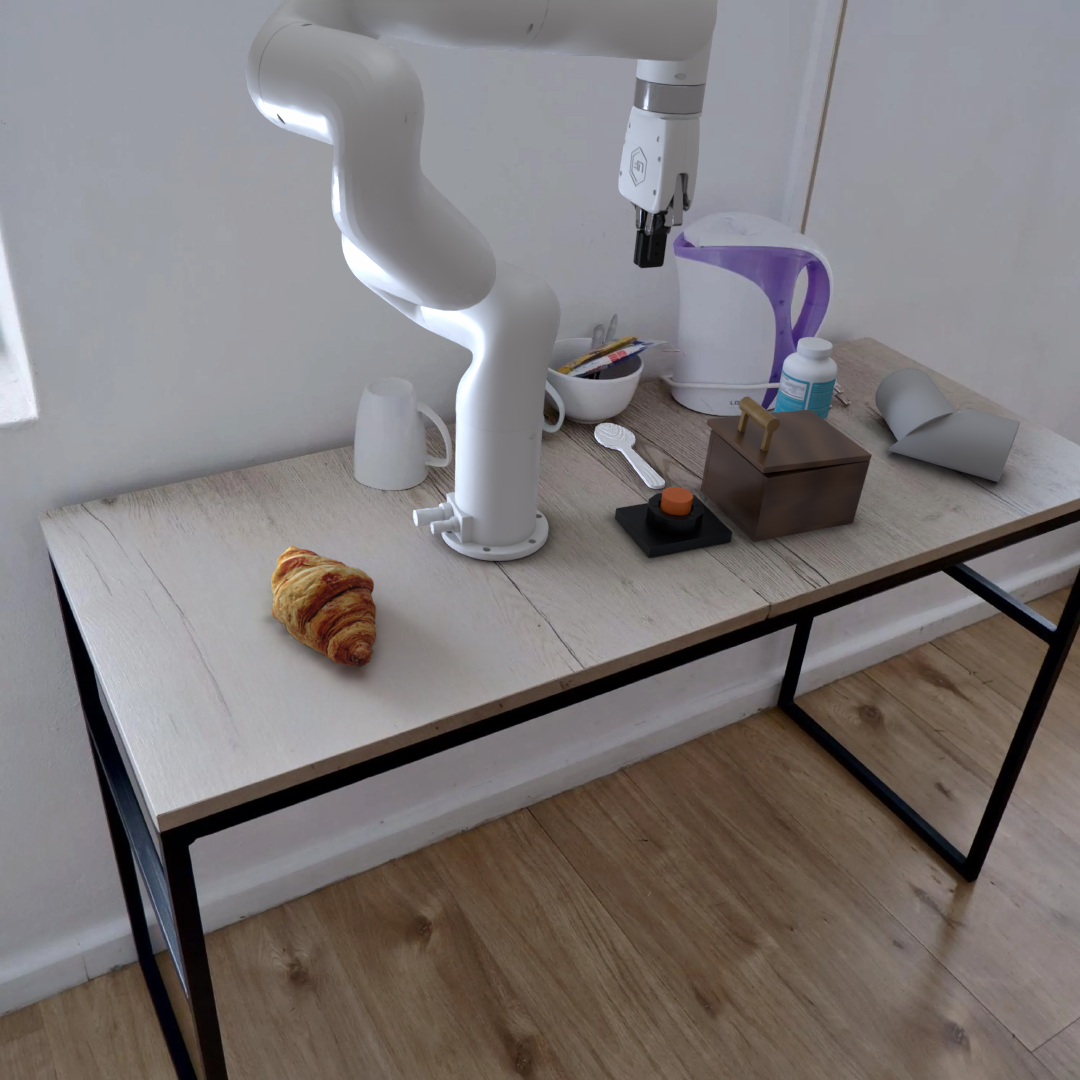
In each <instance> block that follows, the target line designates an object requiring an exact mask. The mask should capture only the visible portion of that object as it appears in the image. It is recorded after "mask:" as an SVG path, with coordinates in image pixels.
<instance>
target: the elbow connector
mask: <svg viewBox="0 0 1080 1080" xmlns="http://www.w3.org/2000/svg"><path fill="white" fill-rule="evenodd" d="M874 395H875V396H874V397H875V398H874V401H875V405H876V408H877V410H878V411H879V413H880V414H881V416H882V417H883V419H884V421H885V422H886V424H887V426H888V427H889V429H890V430H891V433H893V435H894V437H895V438H896V440H897V441H896V442H895V443H894V444H892V445H891V446H890V447H889V448H888V451H889V452H892V453H895V454H897V455H898V454H899V455H902V456H906V457H909V458H913V459H916V460H918V461H923V462H926V463H929V464H933V465H937V466H940V467H944V468H947V469H950V470H954V471H957V472H961V473H964V474H968V475H971V476H976V477H979V478H981V479H984V480H985V479H986V480H989V481H992V482H997V483H999V481H1000V478H1001V477H1002V475H1003V471H1004V469H1005V466H1006V463H1007V462H1008V458H1009V455H1010V452H1011V450H1012V447H1013V445H1014V442H1015V440H1016V436H1017V433H1018V430H1019V428H1020V424H1021V421H1019V420H1016V419H1012V418H1008V417H1004V416H1000V415H997V414H992V413H989V412H985V411H981V410H978V409H975V408H964V409H961V410H958V411H957V410H956V409H955V407H954V406H953V405H952V403H951V402H950V401H949V400H948V399H947V397H946V395H944V393H943V392H942V391H941V389H940V388H939V387H938V385H937V384H936V383H935V382H934V381H933V378H932V377H931V376H930V375H929V373H927V372H926V371H925V370H924V369H921V368H918V367H915V366H914V367H913V366H907V367H901V368H898V369H895V370H893V371H892V372H889V373H888V374H887V375H886V376H885V377H884V378H882V380H881V381H880V382H879V384H878V386H877V388H876V390H875V394H874Z"/></svg>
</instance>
